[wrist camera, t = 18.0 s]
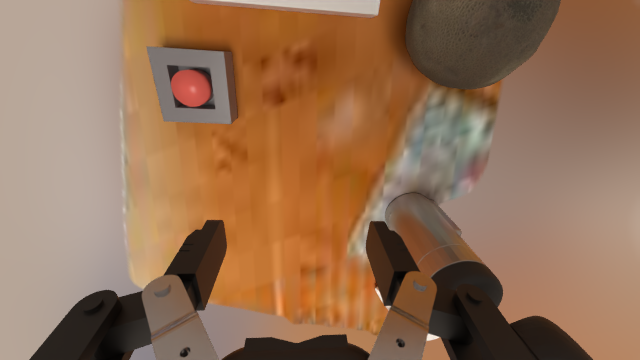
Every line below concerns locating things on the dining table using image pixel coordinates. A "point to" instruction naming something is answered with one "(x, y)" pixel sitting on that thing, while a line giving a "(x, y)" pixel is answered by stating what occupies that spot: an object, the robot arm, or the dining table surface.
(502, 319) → the robot arm
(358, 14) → the window frame
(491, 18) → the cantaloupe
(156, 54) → the button housing
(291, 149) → the dining table surface
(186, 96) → the button
